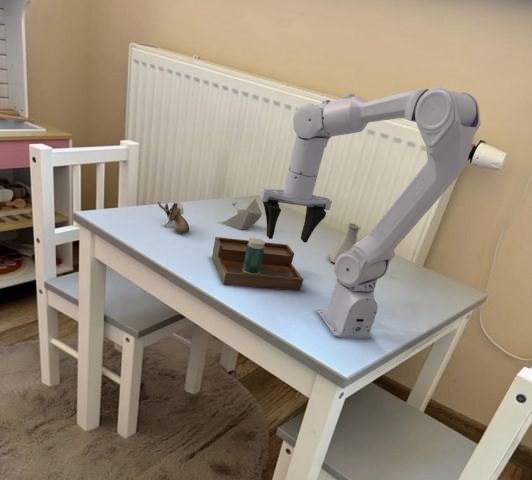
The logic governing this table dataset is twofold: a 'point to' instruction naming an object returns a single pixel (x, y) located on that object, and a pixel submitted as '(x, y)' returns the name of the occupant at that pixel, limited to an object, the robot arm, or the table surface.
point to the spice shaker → (253, 255)
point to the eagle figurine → (176, 217)
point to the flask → (346, 241)
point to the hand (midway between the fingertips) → (286, 238)
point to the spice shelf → (271, 271)
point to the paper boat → (245, 216)
